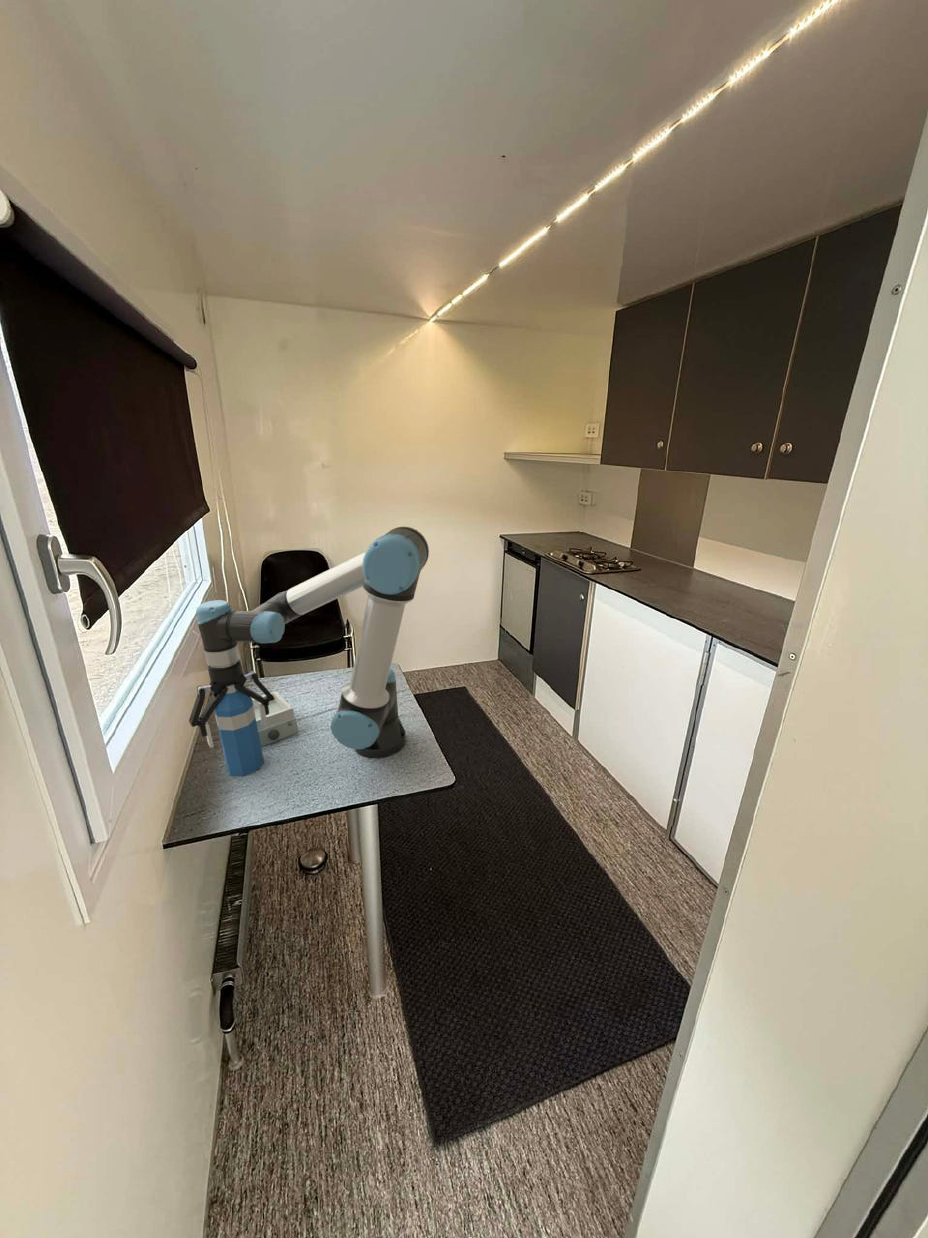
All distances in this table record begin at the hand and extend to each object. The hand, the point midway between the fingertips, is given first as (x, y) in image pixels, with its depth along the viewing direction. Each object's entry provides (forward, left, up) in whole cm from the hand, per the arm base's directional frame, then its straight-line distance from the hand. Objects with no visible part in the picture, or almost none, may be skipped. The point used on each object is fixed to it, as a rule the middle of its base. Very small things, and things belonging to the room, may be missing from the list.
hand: (238, 735), depth 126 cm
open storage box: (+14, -10, -10) cm, 20 cm away
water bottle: (0, 0, -10) cm, 10 cm away
